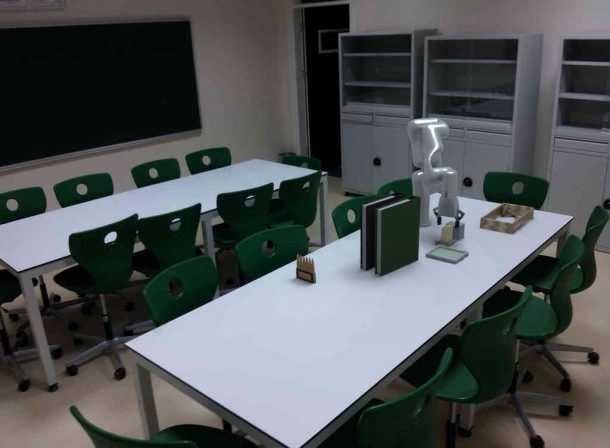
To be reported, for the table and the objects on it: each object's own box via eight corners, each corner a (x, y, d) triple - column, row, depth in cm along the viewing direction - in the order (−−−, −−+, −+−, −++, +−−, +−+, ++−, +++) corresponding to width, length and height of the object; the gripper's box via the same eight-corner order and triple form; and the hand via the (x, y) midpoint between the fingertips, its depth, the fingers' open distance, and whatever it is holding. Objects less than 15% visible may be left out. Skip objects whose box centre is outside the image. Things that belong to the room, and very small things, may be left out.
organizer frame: (479, 228, 300) (480, 217, 298) (502, 212, 325) (503, 202, 323) (512, 234, 289) (513, 223, 287) (533, 217, 314) (534, 207, 312)
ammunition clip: (316, 282, 242) (315, 258, 238) (313, 284, 240) (312, 259, 236) (298, 276, 248) (297, 252, 245) (296, 277, 247) (294, 253, 243)
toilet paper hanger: (510, 234, 299) (516, 223, 295) (494, 228, 302) (500, 216, 298) (516, 219, 320) (521, 208, 316) (501, 213, 322) (506, 202, 319)
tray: (425, 256, 265) (425, 253, 264) (438, 248, 275) (438, 244, 274) (455, 264, 255) (456, 260, 254) (468, 254, 265) (468, 251, 264)
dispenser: (434, 244, 279) (434, 230, 277) (450, 234, 293) (450, 220, 290) (448, 247, 274) (449, 233, 272) (463, 237, 288) (464, 223, 285)
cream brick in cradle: (440, 244, 280) (441, 228, 277) (446, 240, 285) (447, 224, 282) (446, 245, 278) (446, 229, 275) (452, 241, 283) (453, 225, 280)
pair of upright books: (382, 277, 244) (382, 210, 234) (358, 268, 255) (357, 203, 244) (418, 260, 261) (420, 197, 251) (394, 252, 272) (395, 191, 261)
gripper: (430, 193, 275) (429, 225, 280) (462, 198, 264) (460, 231, 269) (437, 190, 280) (436, 221, 286) (468, 194, 270) (467, 227, 275)
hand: (448, 226), depth 277 cm, fingers open, 9 cm apart
